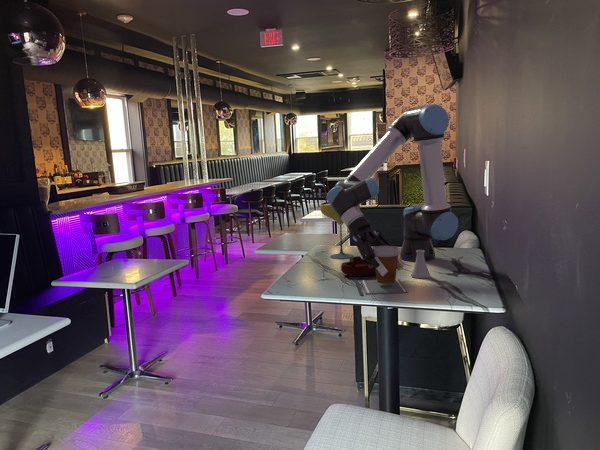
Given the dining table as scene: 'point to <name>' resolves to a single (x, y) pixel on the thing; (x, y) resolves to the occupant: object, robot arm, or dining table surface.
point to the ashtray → (357, 267)
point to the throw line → (359, 288)
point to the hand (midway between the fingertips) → (393, 271)
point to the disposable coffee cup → (387, 263)
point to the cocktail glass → (331, 213)
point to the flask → (420, 266)
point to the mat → (382, 287)
